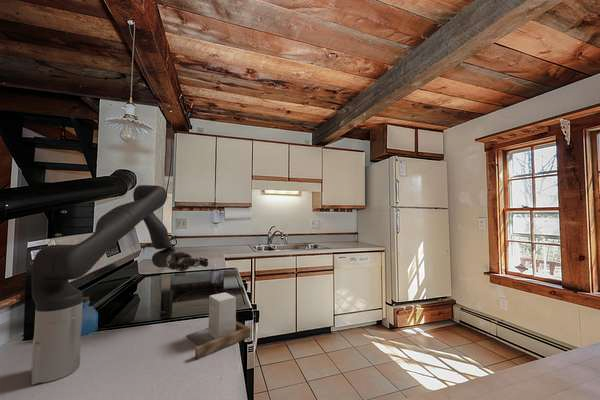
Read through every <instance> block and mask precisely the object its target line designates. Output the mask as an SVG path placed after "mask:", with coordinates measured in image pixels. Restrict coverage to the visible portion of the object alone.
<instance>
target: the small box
mask: <svg viewBox="0 0 600 400" xmlns="http://www.w3.org/2000/svg"><path fill="white" fill-rule="evenodd" d="M208 297H209V301H208V304H209V305H208V328H209V331H208V334H210V335H211V336H212V337H213V338H214V339H218V338H220V337H223V336H225V335H228V334H231V333H233V332H236V321H237V318H236V316H237V312H236V311H237V297H236V296H234V295H232V294H231V293H228V292H221V293H216V294H211V295H209V296H208Z"/></svg>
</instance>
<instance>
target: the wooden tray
mask: <svg viewBox="0 0 600 400" xmlns="http://www.w3.org/2000/svg"><path fill="white" fill-rule="evenodd" d="M208 331H209V327H205V328H203V329H200V330H198V331H194V332H191V333H189V334H186V338H188V339H190V340H191V341H192V342H194V343H195V344H196V345H197V346H195V347H194V348H195V352H194V354H195V355H194V358H195V359H196V360H197V359H198V360H200V359H203V358H206V357H207V356H209V355H212V354H214V353H216V352H219V351H222V350H224V349H227V348H228V347H230V346H233V345H235V344H238V343H240V342H243V341H245V340H247V339H249V338H251V336H252V334H251V333H252V332H251V331H252V329H251V327H249V326H247V325H245V324H243V323H241V322H239V321H237V320H236V332H233V333H231V334H228V335H225V336H223V337H220V338H218V339H214V338H213V337H212V336H211V335H210V334H208ZM202 357H203V358H202Z"/></svg>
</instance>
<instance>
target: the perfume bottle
mask: <svg viewBox="0 0 600 400" xmlns="http://www.w3.org/2000/svg"><path fill="white" fill-rule="evenodd" d="M89 299H90V297H89V296H83V306H82V326H81V336H83V337H85V336H84V335H86V336H88V335H90V334H89V333H91V334H93V333H95V331H96V330H97V331H98V327H99V325H98V324H99V323H98V322H99V312H98V311H97V310H96V309H95V307H94V306H91V305H90V300H89ZM97 331H96V332H97ZM92 332H93V333H92ZM87 334H88V335H87Z"/></svg>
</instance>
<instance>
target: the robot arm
mask: <svg viewBox="0 0 600 400" xmlns="http://www.w3.org/2000/svg"><path fill="white" fill-rule="evenodd" d="M132 196H133V201H130V202H127V203H124V204H121V205H118V206H115V207H113V208H111V209H110V210H108V212H106V213H104V214H103V215H101V216H100V218H99V219H98V220H97V221H96V224H95V228H94V233H92V235H90V236H88V237H87V238H86V239H85V240H82V241H81V242H78V243H76V244H50V245H46V246H44V247H42V248H41V249H40V250H38V251H37V253H36V254H35V255H34V257H33V261H32V264H31V298H32V300H33V302H34V303H35V312H34V313H35V314H34V315H35V316H34V327H33V328H34V330H33V333H34V334H33V339H32V355H31V368H30V369H31V371H30V376H31V377H30V379H31V380H30V381H31V386H33V385H36V384H40V383H47V382H53V381H56V380H58V379H59V380H60V379H62V378H64V377H66V376H68V375H71V374H72V373H74V372H75V371H77V370H78V369H79V368H80V362H81V345H82V343H81V341H82V337H81V326H82V306H83V297H84V293H83V291H82V290H80V289H79V288H76V287H75V286H73V285H72V284H71V283H70V281H72V280H77V279H80V278H82V277H83V276H84V275H86V274H87V273H88V272H89V271H90V270H91V269H93V267H94V266H95V265H96V264H97V263H98V262H99V260H101V259H102V258H103V256H104V255H105V254H106V253H107V252H108V251H109V250H110V249H111V248H112V247H113V246H114V245H116V243H117V242H119V241H120V240H121V239H122V238H123V237H125V236H126V235H127V234H129V232H131V231H132V230H133V229H134V228H135V227H136V226H138V225H139V223H140V222H142V221H143V222H144V223H145V226H146V228H147V230H148V233H149V238H150V241H151V244H152V247H153V249H155V250H159V251H157V252H154V253H153V255H152V256H151V262H152V264H153V265H154V266H155V267H157V268H161V269H162V268H167V269H170V270H172V271H174V270H175V271H179V272H184V271H187V270H188V269H190V268H198V267H204V268H207V267H209V261H208V260H209V259H208V258H206V257H192V256H191V254H190V253H188V252H184V251H177V250H176V249H175V248H174V246H173V244H172V242H171V240H170V236H169V233H168V230H167V227H166V225H165V223H163V222H162V221H161V220H160V219H159V217H157V215H156V214H155V212H156V211H157V210H158V209H160V208H161V207H163V206H164V205H165V203H166V202H167V198H168V192H167V189H166V188H165V187H163V186H162V185H161V186H160V185H151V184H149V185H147V184H142V185H140V184H139V185H137V186H136V187H135V188H134V190H133V193H132Z"/></svg>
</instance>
